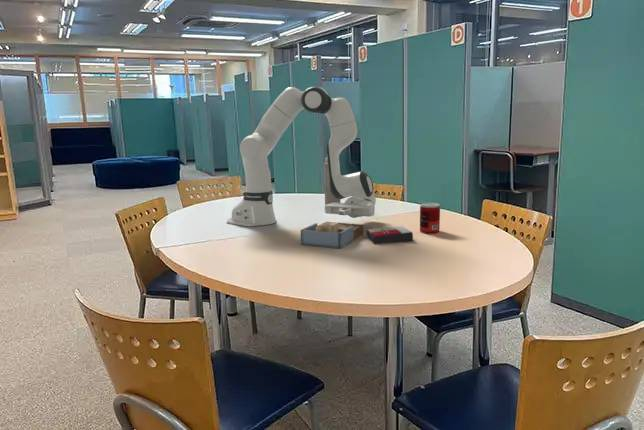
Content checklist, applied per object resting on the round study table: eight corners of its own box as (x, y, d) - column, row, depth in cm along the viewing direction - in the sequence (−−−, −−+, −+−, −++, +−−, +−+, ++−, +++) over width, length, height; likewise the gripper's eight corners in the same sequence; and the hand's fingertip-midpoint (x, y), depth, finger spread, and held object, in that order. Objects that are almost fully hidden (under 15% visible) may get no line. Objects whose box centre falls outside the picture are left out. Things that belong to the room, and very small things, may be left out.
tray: (300, 244, 184) (300, 230, 183) (315, 236, 195) (315, 223, 193) (340, 248, 177) (340, 233, 176) (353, 240, 188) (353, 226, 187)
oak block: (326, 237, 191) (316, 242, 183) (326, 221, 189) (315, 227, 182) (338, 238, 188) (328, 244, 181) (338, 222, 187) (328, 228, 179)
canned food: (441, 230, 201) (441, 203, 199) (437, 234, 194) (437, 206, 192) (422, 228, 204) (422, 202, 202) (417, 233, 197) (418, 205, 195)
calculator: (366, 228, 192) (403, 224, 195) (366, 239, 193) (403, 234, 195) (373, 235, 182) (412, 230, 184) (374, 246, 183) (413, 241, 185)
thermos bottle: (341, 204, 259) (340, 150, 253) (339, 207, 251) (338, 152, 246) (326, 204, 261) (325, 151, 255) (323, 207, 253) (322, 152, 247)
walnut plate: (315, 236, 195) (315, 227, 194) (326, 231, 203) (326, 221, 203) (353, 240, 188) (353, 230, 187) (363, 234, 197) (362, 224, 196)
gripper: (332, 198, 212) (317, 203, 200) (377, 200, 203) (365, 206, 191) (332, 212, 213) (318, 219, 201) (377, 215, 204) (365, 222, 192)
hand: (341, 213), depth 196 cm, fingers closed
